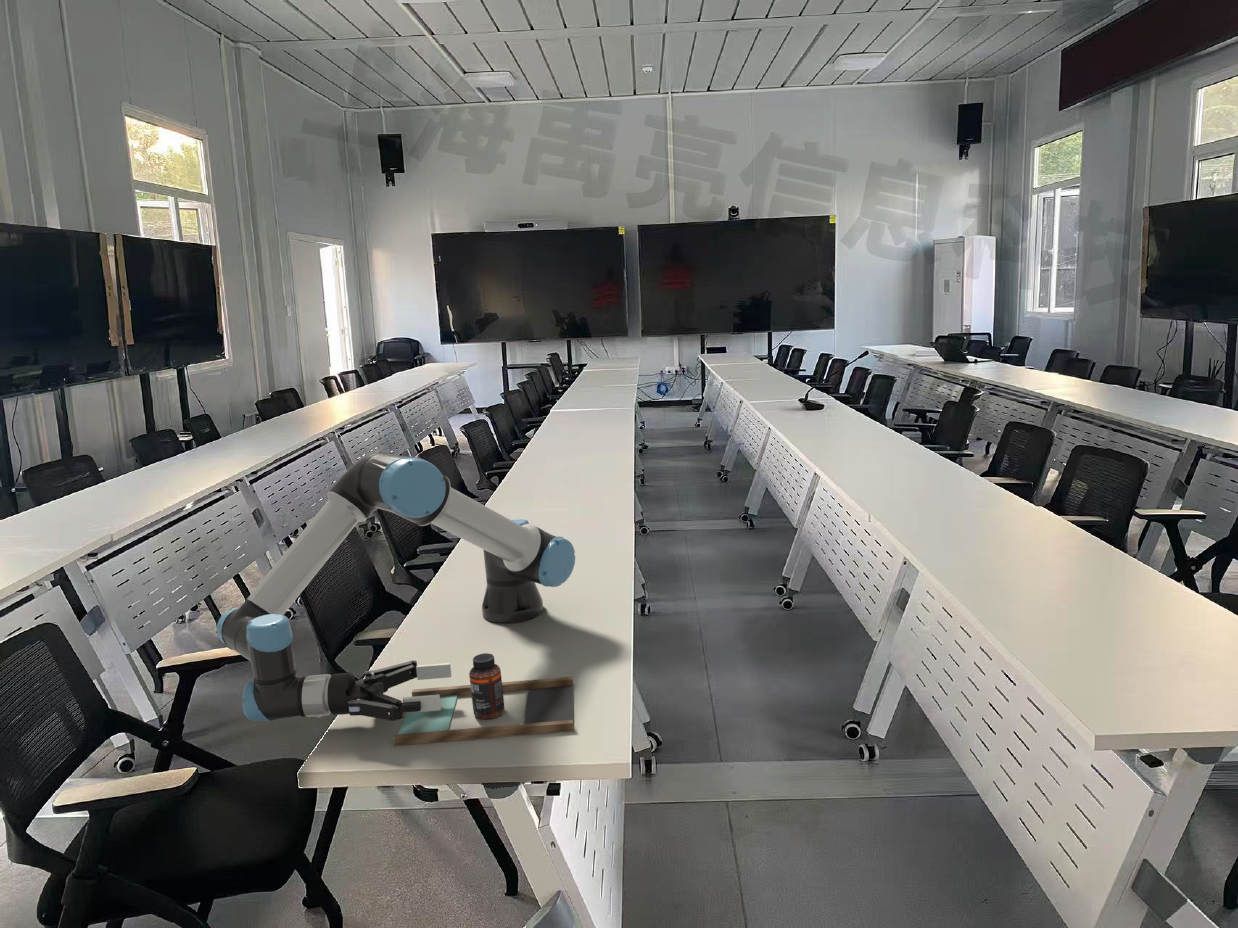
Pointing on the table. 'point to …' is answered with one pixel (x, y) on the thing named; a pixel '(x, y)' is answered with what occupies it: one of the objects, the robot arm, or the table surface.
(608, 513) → the table surface
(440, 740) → the channel track
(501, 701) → the supplement bottle
